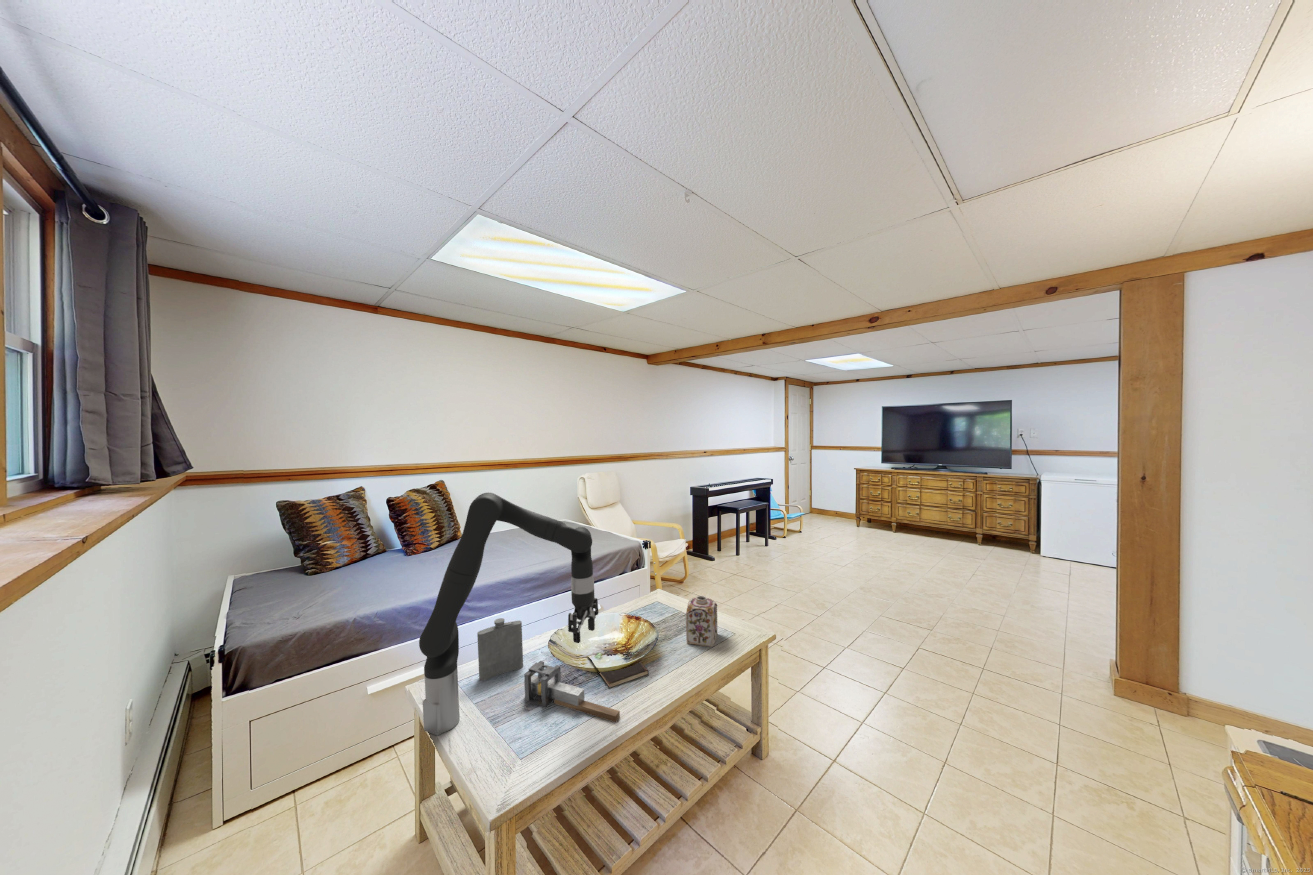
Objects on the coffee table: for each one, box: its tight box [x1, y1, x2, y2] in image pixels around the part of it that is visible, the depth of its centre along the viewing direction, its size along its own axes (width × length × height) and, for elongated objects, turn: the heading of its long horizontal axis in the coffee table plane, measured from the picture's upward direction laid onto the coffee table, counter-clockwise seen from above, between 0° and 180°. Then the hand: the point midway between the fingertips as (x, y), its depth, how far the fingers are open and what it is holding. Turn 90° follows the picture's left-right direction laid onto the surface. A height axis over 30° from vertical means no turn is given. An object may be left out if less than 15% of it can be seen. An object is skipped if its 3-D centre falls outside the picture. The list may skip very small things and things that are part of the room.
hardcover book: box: [599, 661, 649, 688], centre depth 162 cm, size 16×23×2 cm
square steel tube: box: [523, 674, 585, 706], centre depth 142 cm, size 22×4×4 cm, turn 67°
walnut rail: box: [553, 699, 621, 723], centre depth 137 cm, size 3×24×2 cm, turn 67°
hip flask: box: [476, 617, 524, 682], centre depth 159 cm, size 16×4×20 cm, turn 122°
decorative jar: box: [685, 595, 718, 648], centre depth 179 cm, size 12×12×18 cm
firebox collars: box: [523, 660, 562, 709], centre depth 144 cm, size 8×9×10 cm
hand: (584, 635), depth 140 cm, fingers open, 8 cm apart
